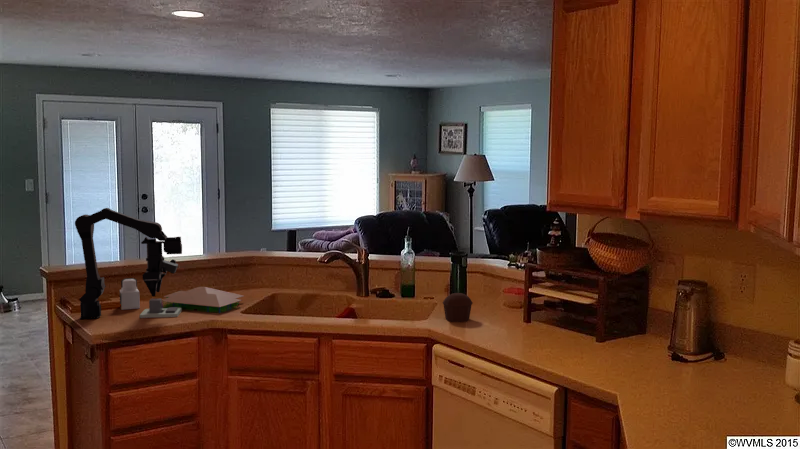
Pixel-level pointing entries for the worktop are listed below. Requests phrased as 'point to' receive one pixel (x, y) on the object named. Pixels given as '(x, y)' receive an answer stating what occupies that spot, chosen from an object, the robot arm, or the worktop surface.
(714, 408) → the worktop surface
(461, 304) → the muffin
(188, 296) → the house
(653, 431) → the worktop surface
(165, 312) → the plate
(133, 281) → the medicine bottle
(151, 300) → the block
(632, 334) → the worktop surface
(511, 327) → the worktop surface
